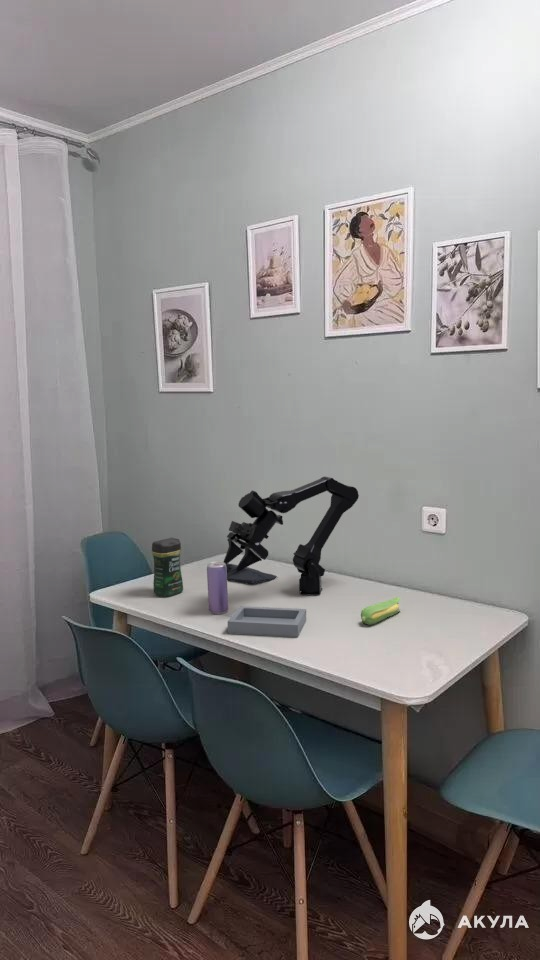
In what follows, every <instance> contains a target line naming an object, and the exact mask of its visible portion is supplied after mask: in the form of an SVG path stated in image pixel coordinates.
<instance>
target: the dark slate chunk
mask: <svg viewBox="0 0 540 960" xmlns="http://www.w3.org/2000/svg"><path fill="white" fill-rule="evenodd" d="M237 566H238V564H234V563H230V562H229V563H227V564H226V567H227V582H230V581H231V582H236V583H242V584H245V583H248V584H247V585H254V584H255V585H256V584H258V583H259V584H260V583H263V581H264V582H269V581H272V579H273V580H276V579H277V578H278V576H277V575H275V574H271V573H268V572H262V571H260V570H258V569H255V568H251V567H250V566H248V567H246V568H244V569H242V570H240V571H237V570H236V568H237ZM276 577H277V578H276ZM275 578H276V579H275Z"/></svg>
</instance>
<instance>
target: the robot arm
mask: <svg viewBox="0 0 540 960" xmlns="http://www.w3.org/2000/svg"><path fill="white" fill-rule="evenodd" d="M325 492H328V493H329V494H331V496H330V506H328V507H329V508H328V509H327V511H326V513H325V514H324V516H323V518H322V519H321V520H320V523H319V524H318V526H317V527H316V529H315V530H314V532H313V535H312V536H311V537H310V539H309V541H308V542H307V543H306V544H302V543H300V544H299V545H298V546H297V548H296V551H295V552H294V553H293V557H292V564H293V566H294V567H295V568H296V569H297V572H298V573H300V577H299V579H298V586H299V589H298V590H299V595H302V596H303V595H305V596H306V595H307V596H320V595H321V593H322V592H323V587H322V577H324V575H325V572H326V569H325V568H324V567H323V566H322V565H321V564H320V562H321V559H322V551H323V548H324V546H325V545H326V543H327V541H328V539H329V538H330V536H331V534H332V533H333V531H334V529H335V528H336V527H337V524H339V521H340V519H341V517H342V516H343V515H344V513H345V512H347V511H348V510H350V509H352V508H353V506H355V504H356V502H357V501H358V499H359V498H360V497H359V496H360V495H359V491H358V489H357V487H354V486H352V485H351V486H350V485H348V484H347V485H346V484H344V483H341V482H340V481H338V480H336V479H334V478H333V477H329V476H322V477H320V478H319V479H316V480H314V481H311V482H309V483H307V484H304V485H302V486H300V487H297V488H294V489H291V490H283V491H277V492H273V493H271V494H270V495H269V497H265V498H262V496H260V495H259V494H258V493H257V491H255V490H251V491H250V492H249V493H247V494H245V495H244V496H241V498H240V500H239V501H238V507H239V509H241V510H242V511H243V512H244V513H245V514H246V515H247V516H249V517H250V518H251V519H255V520H254V521H253V522H252V523H251V522H249V523H248V522H245V521H242V522H241V523H239V522H237V521H233V520H231V522H230V525H229V528H228V531H230V532H229V533H228V534H227V535H226V538H227V539H226V540H227V542H228V547H227V551H226V554H225V556H224V559H223V561H222V562H224V563H226V564H227V563H229V564H230V562H232V561H233V560H234V559H236V558H237V557H238V556H239V555H241V554H242V553H243V552H244V555H243V556H242V558H241V559H240V561H239V562H238V564H237V565H238V566H237V568H236V570H237V571H240V570H242V569H244V568H246V567H250V566H252V565H254V564H256V563H258V562H261V561H262V560H265V561H266V559H267V558H268V557H269V550H268V549H267V548H266V547H265V546H263V545H262V544H261V543H262V542H263V541H264V539H268V538H269V537H270V536H268V534H269V533H270V531H271V530H272V529H273V527H274V526H275V525H276V524H279V525H281V526H283V525H284V521H283V516H282V515H280V514H287V513H288V512H290V511H292V510H294V509H295V508H296V507H297V505H298V504H300V503H301V502H304V501H306V500H308V499H311V498H313V497H315V496H319V495H320V494H323V493H325ZM268 509H269V510H268ZM276 512H278V513H280V514H276Z"/></svg>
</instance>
